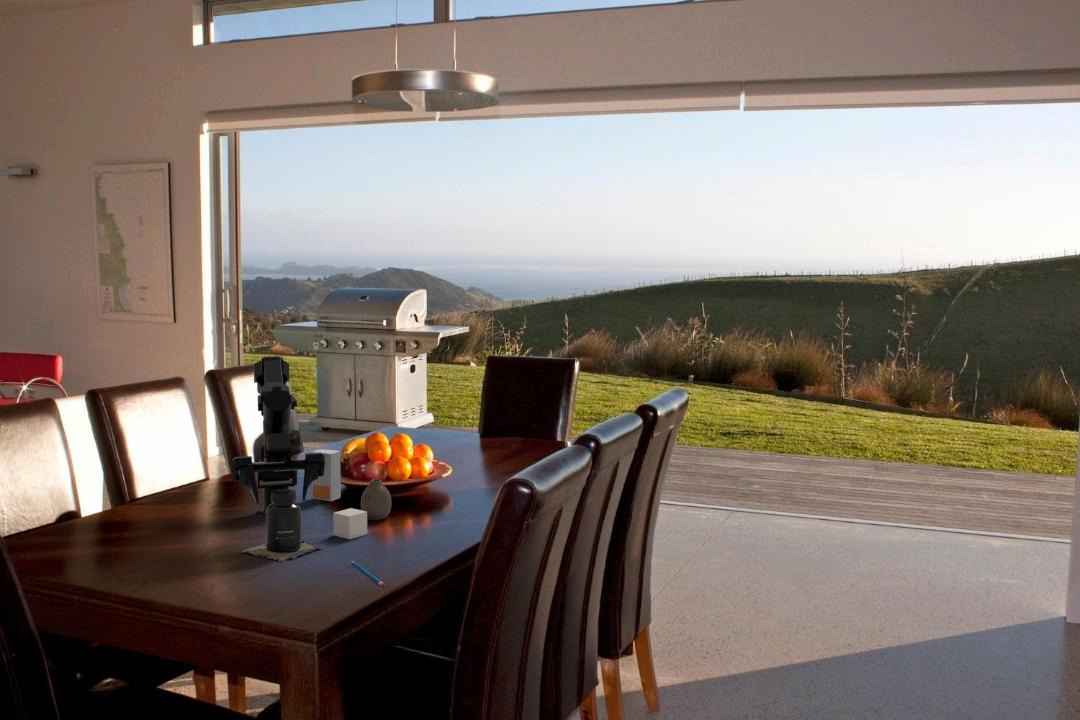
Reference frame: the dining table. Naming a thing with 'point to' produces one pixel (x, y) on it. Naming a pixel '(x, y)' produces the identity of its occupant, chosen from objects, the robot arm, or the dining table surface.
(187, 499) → the dining table surface
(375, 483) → the vase
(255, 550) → the parchment
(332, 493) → the skincare box
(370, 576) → the pencil
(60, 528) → the dining table surface
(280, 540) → the supplement bottle
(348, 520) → the cream ceramic block
